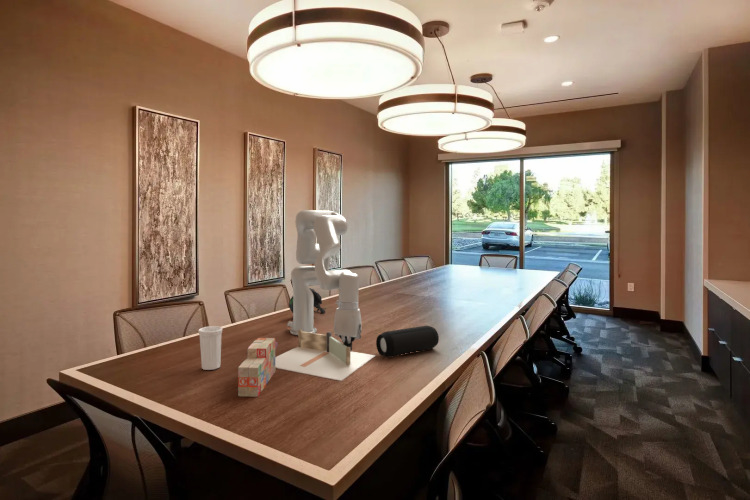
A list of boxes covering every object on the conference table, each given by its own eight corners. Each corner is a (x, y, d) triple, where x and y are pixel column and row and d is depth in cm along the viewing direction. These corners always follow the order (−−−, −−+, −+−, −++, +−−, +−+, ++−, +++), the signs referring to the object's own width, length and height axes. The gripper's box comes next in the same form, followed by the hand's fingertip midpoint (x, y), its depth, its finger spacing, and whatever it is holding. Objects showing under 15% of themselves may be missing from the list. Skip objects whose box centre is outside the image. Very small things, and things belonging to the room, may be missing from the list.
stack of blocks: (258, 397, 125) (258, 357, 124) (237, 397, 125) (237, 357, 124) (275, 371, 146) (275, 337, 145) (258, 371, 146) (257, 337, 146)
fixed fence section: (297, 347, 173) (297, 328, 172) (300, 345, 175) (300, 327, 174) (329, 352, 166) (329, 333, 166) (332, 351, 168) (332, 332, 168)
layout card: (260, 365, 152) (260, 364, 152) (303, 344, 177) (303, 343, 177) (341, 381, 138) (341, 380, 138) (375, 356, 163) (375, 355, 163)
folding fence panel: (328, 351, 166) (328, 335, 165) (332, 350, 167) (332, 335, 166) (347, 365, 150) (347, 348, 150) (351, 364, 151) (351, 347, 151)
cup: (208, 373, 143) (207, 333, 142) (194, 368, 147) (193, 329, 146) (227, 366, 150) (227, 328, 149) (213, 362, 154) (212, 324, 153)
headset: (319, 328, 234) (287, 313, 214) (309, 315, 242) (277, 300, 222) (337, 305, 234) (307, 289, 214) (327, 293, 242) (297, 276, 222)
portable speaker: (425, 345, 179) (425, 322, 178) (439, 351, 171) (440, 327, 170) (374, 354, 166) (375, 329, 166) (387, 361, 158) (388, 336, 157)
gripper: (326, 305, 156) (325, 352, 158) (361, 309, 150) (360, 358, 152) (336, 301, 163) (335, 346, 165) (370, 305, 157) (369, 352, 159)
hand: (347, 352), depth 158 cm, fingers closed
